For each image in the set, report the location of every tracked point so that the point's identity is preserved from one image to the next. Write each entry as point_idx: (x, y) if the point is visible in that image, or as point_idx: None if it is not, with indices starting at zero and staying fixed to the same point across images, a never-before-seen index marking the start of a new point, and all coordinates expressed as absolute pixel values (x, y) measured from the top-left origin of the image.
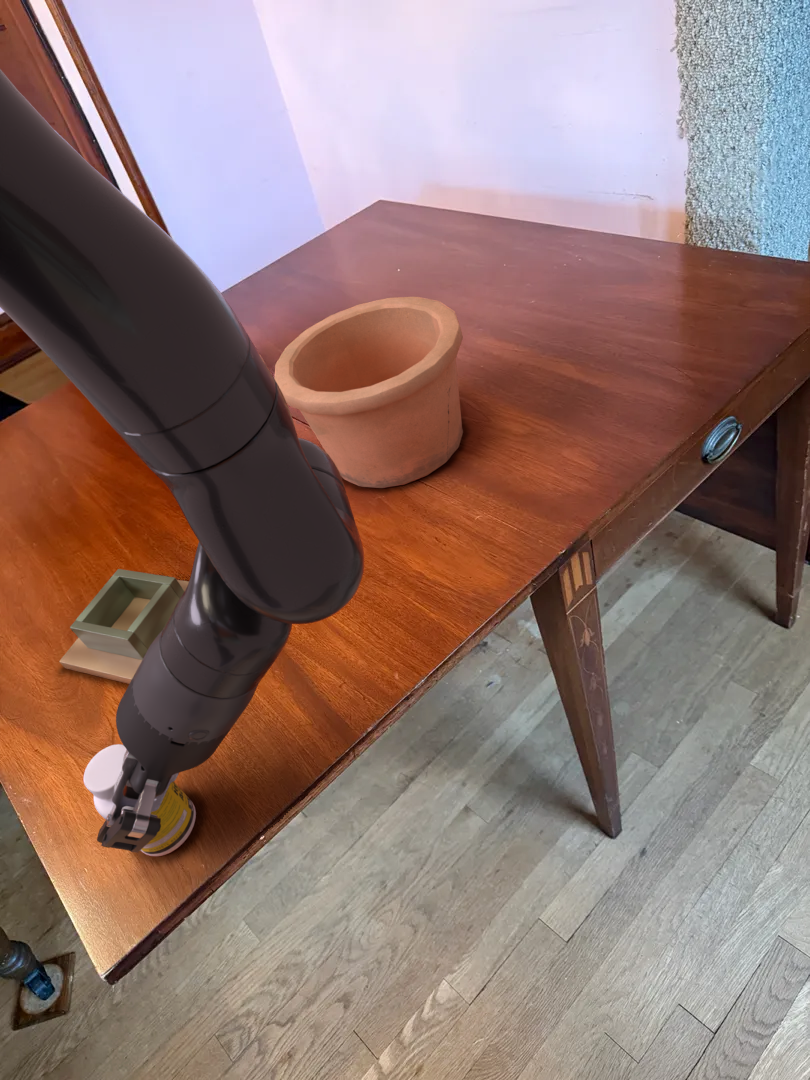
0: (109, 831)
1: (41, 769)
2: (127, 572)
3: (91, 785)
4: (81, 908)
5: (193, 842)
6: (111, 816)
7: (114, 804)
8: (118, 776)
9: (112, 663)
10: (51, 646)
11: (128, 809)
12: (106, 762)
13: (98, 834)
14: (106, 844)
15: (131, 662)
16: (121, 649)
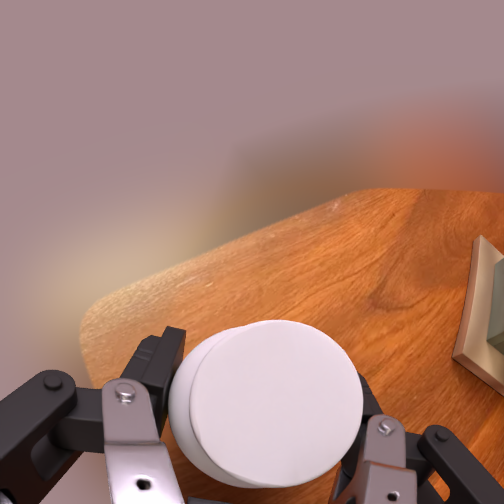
0: (40, 405)
1: (371, 220)
2: None
3: (227, 352)
4: (154, 280)
5: None
6: (107, 408)
7: (142, 421)
8: (227, 449)
9: (483, 296)
10: (487, 227)
11: (174, 423)
12: (304, 396)
13: (174, 330)
14: (21, 387)
15: (484, 322)
16: (500, 309)
